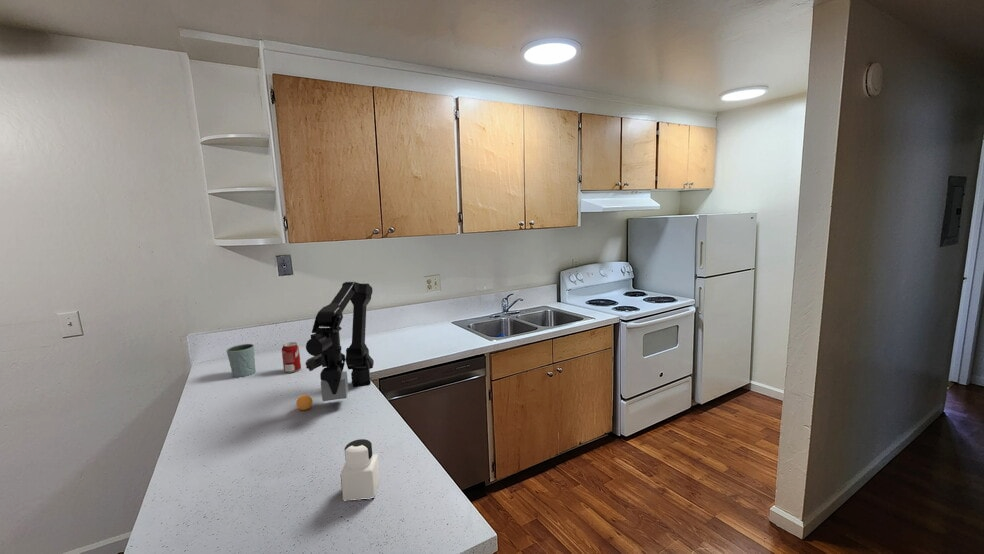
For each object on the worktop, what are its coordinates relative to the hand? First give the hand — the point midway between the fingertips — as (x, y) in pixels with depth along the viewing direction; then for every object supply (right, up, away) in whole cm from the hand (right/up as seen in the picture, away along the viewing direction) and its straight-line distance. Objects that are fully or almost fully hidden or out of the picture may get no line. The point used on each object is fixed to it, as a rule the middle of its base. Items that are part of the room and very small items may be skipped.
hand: (335, 389), depth 146 cm
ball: (-10, -4, -2) cm, 11 cm away
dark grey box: (0, -2, 0) cm, 2 cm away
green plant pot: (-52, -3, +35) cm, 63 cm away
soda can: (-32, -2, +37) cm, 49 cm away
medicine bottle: (+24, -12, -47) cm, 53 cm away
